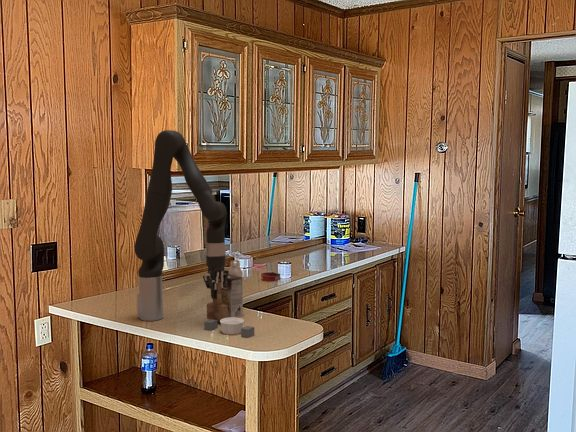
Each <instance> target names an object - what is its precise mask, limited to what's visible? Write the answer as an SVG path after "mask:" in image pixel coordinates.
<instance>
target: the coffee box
mask: <svg viewBox="0 0 576 432" xmlns="http://www.w3.org/2000/svg"><path fill="white" fill-rule="evenodd" d="M243 278H244V277H243V276H242V277H239V276H235V275H231V274H228V278H227V281H226V285H224V286H223V287H222V297H221V301H222V304H225V305H228V318H230V317H235V318H240V317H243V305H242V297H243V294H244V293H243V289H244V286H243V285H244V284H243ZM223 282H224V279H223ZM243 298H244V297H243Z"/></svg>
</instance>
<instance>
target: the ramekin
mask: <svg viewBox="0 0 576 432" xmlns="http://www.w3.org/2000/svg"><path fill="white" fill-rule="evenodd" d="M219 322H220V323H219V324H220V330H221V333H223V334H225V335H229V336H230V335H232V336H233V335H239V334H241V328H243V327H244V323H245V319H244V318H240V317H236V318H235V317H230V318H224V319H221V320H220V321H219Z"/></svg>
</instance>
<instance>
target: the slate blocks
mask: <svg viewBox="0 0 576 432" xmlns="http://www.w3.org/2000/svg"><path fill="white" fill-rule="evenodd" d="M203 325H204V326H203V327H204V328H203V329H204V330H206V331H213V330H216V329H218V321H217V320H213V319H206V320H205V321H204V324H203ZM253 336H255V326H251V325H246V326H243V328H241V333H240V337H241V338H247V339H248V338H250V337H251V338H252V337H253Z"/></svg>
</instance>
